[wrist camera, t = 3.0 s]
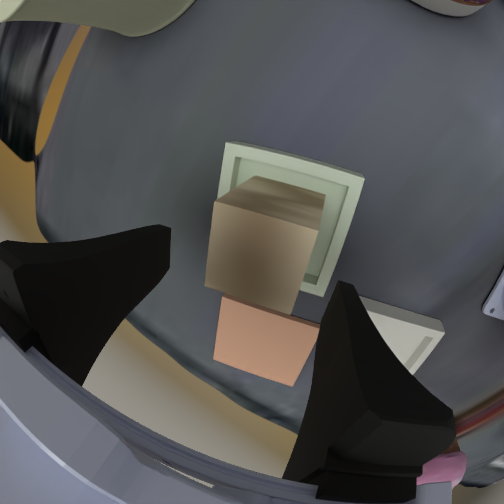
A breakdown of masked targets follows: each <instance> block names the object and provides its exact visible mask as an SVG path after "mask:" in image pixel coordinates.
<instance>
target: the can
mask: <svg viewBox="0 0 504 504" xmlns="http://www.w3.org/2000/svg"><path fill="white" fill-rule="evenodd" d="M194 1H195V0H0V22H5V21H19V20H30V21H53V22H64V23H72V24H79V25H86V26H91V27H97V28H102V29H107V30H111V31H115V32H118V33H120V34H122V35H125V36H129V37H137V36H143V35H148V34H151V33H153V32H156V31H158V30H160V29H162V28H164V27H165V26H167V25H169V24H170V23H172V22H173V21H174V20H176V19H177V18H178V17H180V16H181V15H182V14H183V13H184V12H185V11H186V10H187V9H188V8H189V7H190V6H191V5H192V4H193V2H194Z"/></svg>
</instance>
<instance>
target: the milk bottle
mask: <svg viewBox="0 0 504 504" xmlns="http://www.w3.org/2000/svg"><path fill="white" fill-rule="evenodd" d="M411 1H413V2H415V3H417V4H419V5H420V6H422V7H424V8H427V9H429V10H431V11H434V12H437V13H441V14H444V15H450V16H468V15H471V14H473V13H474V12H476V11H478V10H479V9H481V8H482V7H483V6H485V5H486V4H488V3H489V2H490V1H492V0H411Z"/></svg>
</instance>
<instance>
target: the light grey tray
mask: <svg viewBox="0 0 504 504" xmlns="http://www.w3.org/2000/svg"><path fill="white" fill-rule="evenodd" d="M359 297H360V299H361V301H362V303H363V305H364V307H365V309H366V311H367V312H368V314H369V316H370V318H371V320H372V321H373V323H374V325H375V326H376V328H377V330H378V331H379V333H380V334H381V336H382V338H383V339H384V341H385V342H386V343H387V345H388V346H389V348H390V349H391V350H392V352H393V353H394V354H395V356H396V357H397V358H398V359H399V361H400V362H401V363H402V364H403V365H404V366H405V367H406V369H407V370H408V371H409V372H410V373H411V374H412V375H413V374H414V373H415V372H416V370H417V369H418V368H419V367H420V366H421V364H422V363H423V362H424V361H425V359H426V358H427V357H428V355H429V354H430V353H431V352H432V350H433V349H434V348H435V346H436V345H437V344H438V342H439V341H440V339H441V338H442V337H443V335H444V334H445V331H444V328H443V325H442V322H441V320H438V319H435V318H431V317H428V316H425V315H421V314H418V313H415V312H411V311H408V310H405V309H401V308H398V307H395V306H391V305H388V304H385V303H381V302H378V301H375V300H372V299H368V298H365V297H362V296H359Z"/></svg>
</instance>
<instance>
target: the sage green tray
mask: <svg viewBox="0 0 504 504" xmlns="http://www.w3.org/2000/svg"><path fill="white" fill-rule="evenodd" d="M255 175H257V176H261V177H264V178H268V179H272V180H276V181H280V182H284V183H287V184H291V185H295V186H298V187H302V188H305V189H309V190H312V191H315V192H319V193H322V194H326V196H325V201H324V206H323V211H322V216H321V221H320V226H319V231H318V234H317V237H316V241H315V244H314V247H313V250H312V253H311V256H310V259H309V262H308V266H307V269H306V272H305V275H304V278H303V281H302V284H301V286H300V289H299V290H301V291H305V292H308V293H311V294H314V295H317V296H321V297H323V296H324V294H325V291H326V289H327V286H328V284H329V281H330V279H331V276H332V274H333V271H334V268H335V266H336V263H337V260H338V258H339V255H340V252H341V250H342V247H343V244H344V241H345V238H346V236H347V233H348V230H349V227H350V224H351V221H352V218H353V215H354V212H355V209H356V206H357V203H358V199H359V196H360V193H361V190H362V186H363V183H364V180H365V178H364V176H363V174H361V173H358V172H355V171H351V170H348V169H345V168H342V167H339V166H335V165H332V164H329V163H325V162H322V161H318V160H315V159H311V158H307V157H304V156H300V155H296V154H292V153H288V152H284V151H280V150H276V149H272V148H267V147H263V146H258V145H254V144H249V143H244V142H239V141H231V142H226V144H225V151H224V157H223V163H222V170H221V176H220V183H219V190H218V197H217V199H218V198H220V197H222V196H223V195H225V194H226V193H228V192H229V191H231V190H232V189H234V188H236V187H237V186H239V185H240V184H242V183H243V182H245V181H247V180H248V179H250V178H252V177H253V176H255Z"/></svg>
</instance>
